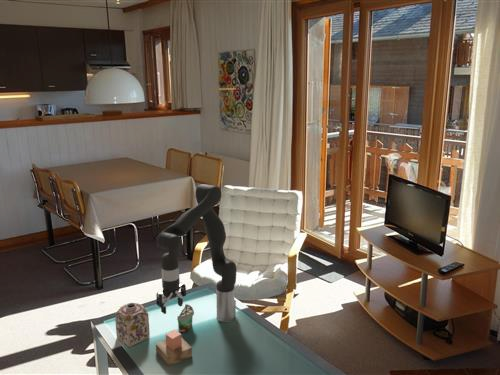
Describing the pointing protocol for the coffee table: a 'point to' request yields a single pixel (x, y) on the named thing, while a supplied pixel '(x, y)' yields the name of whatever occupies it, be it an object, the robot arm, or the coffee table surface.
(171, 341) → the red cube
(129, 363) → the coffee table surface
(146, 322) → the decorative jar
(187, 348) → the walnut block
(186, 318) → the food container
